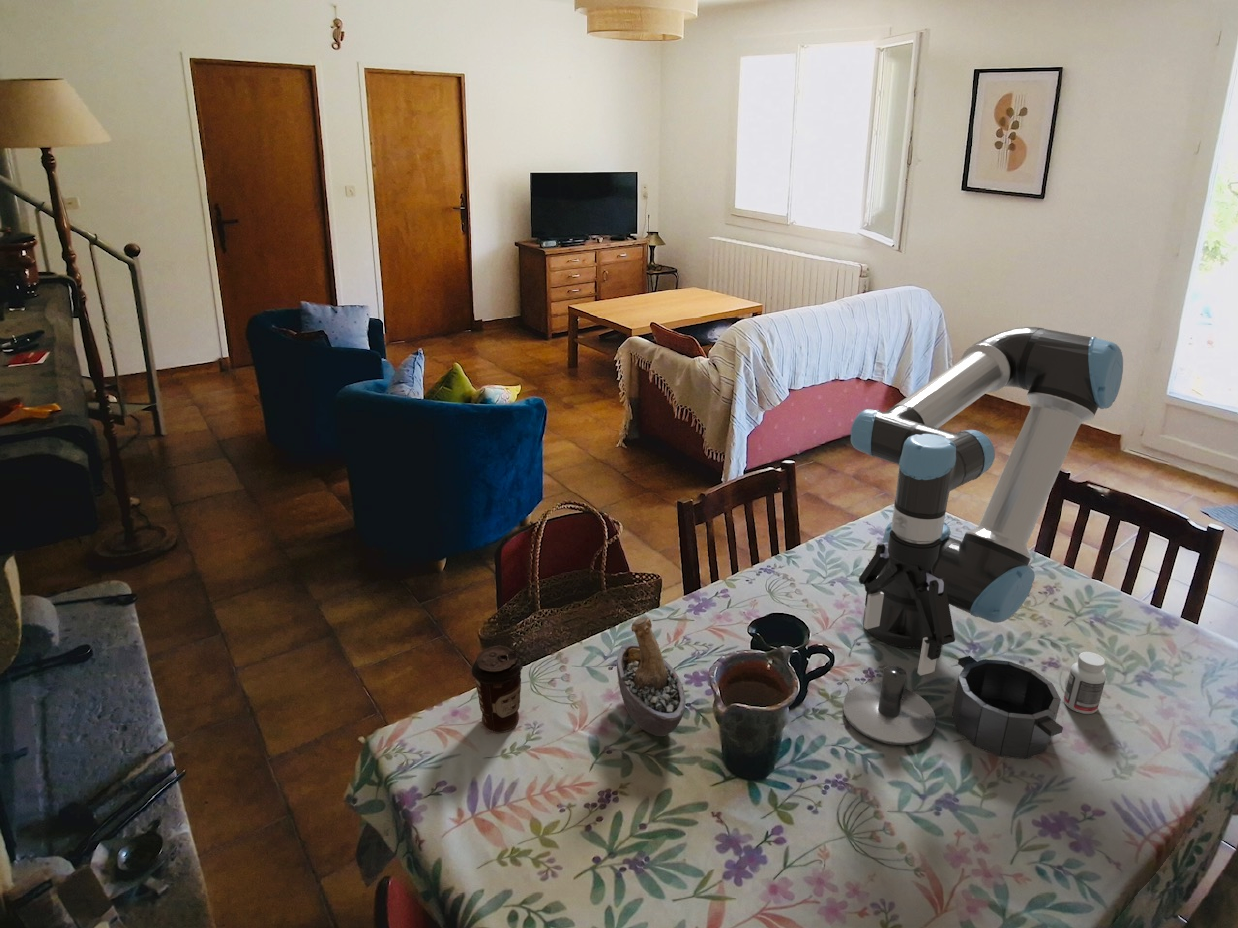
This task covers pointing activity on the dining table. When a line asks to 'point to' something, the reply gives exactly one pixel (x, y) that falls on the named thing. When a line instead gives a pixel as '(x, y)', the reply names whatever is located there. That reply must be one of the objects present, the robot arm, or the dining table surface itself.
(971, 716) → the pot
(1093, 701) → the pill bottle
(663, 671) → the planter
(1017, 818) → the dining table surface
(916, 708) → the lid
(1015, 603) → the robot arm
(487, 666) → the dark brown can
